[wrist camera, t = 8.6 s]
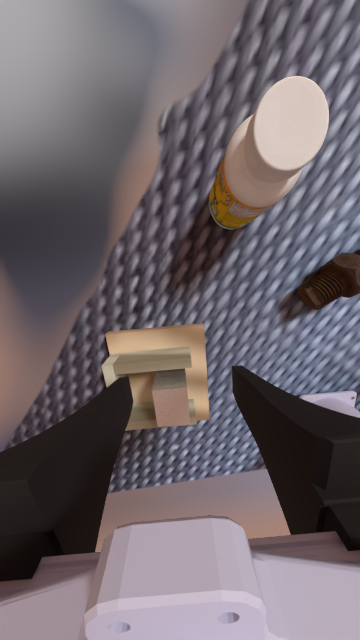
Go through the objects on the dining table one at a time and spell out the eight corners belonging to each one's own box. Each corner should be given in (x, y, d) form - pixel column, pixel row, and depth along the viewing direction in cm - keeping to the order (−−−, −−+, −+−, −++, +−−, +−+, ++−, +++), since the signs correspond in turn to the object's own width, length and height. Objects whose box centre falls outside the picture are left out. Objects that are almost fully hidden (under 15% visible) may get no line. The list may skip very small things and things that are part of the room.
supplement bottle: (248, 235, 19) (317, 197, 10) (202, 224, 19) (227, 173, 9) (264, 180, 18) (362, 74, 8) (215, 166, 17) (259, 40, 8)
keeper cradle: (208, 413, 25) (214, 439, 21) (127, 421, 25) (118, 447, 21) (202, 323, 21) (208, 333, 18) (108, 331, 22) (93, 344, 18)
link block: (187, 392, 23) (190, 423, 18) (161, 394, 23) (157, 426, 18) (184, 362, 22) (186, 387, 17) (157, 364, 22) (151, 390, 17)
